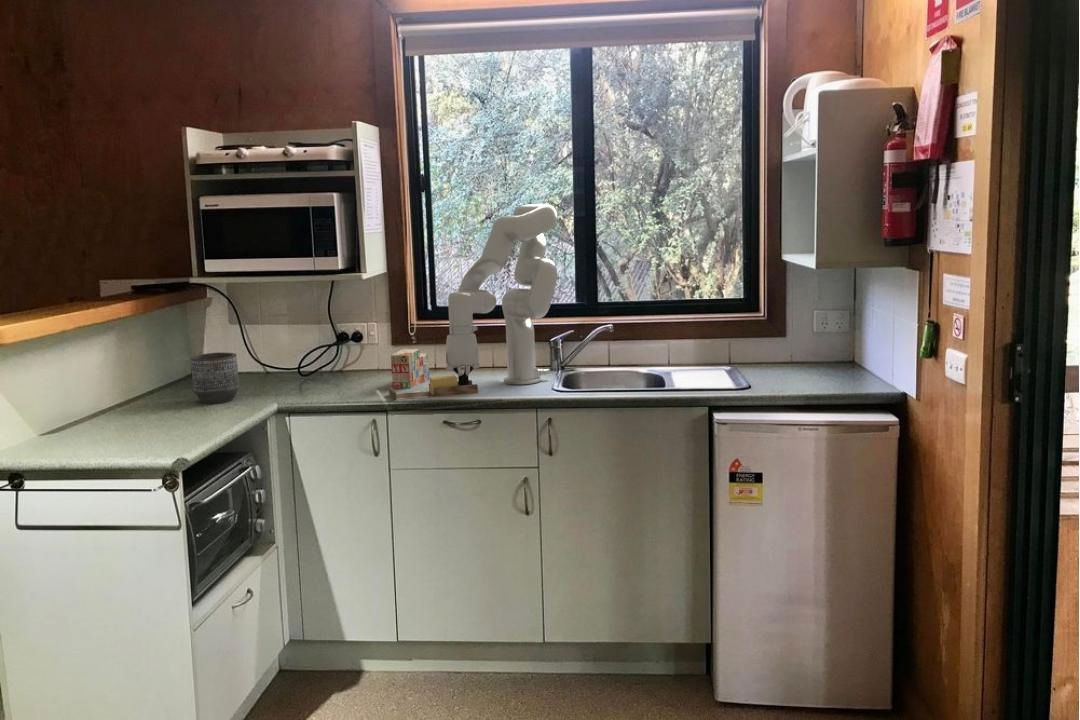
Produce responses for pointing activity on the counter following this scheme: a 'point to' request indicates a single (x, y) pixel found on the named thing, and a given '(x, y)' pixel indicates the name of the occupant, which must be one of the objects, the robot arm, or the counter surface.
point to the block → (442, 382)
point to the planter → (215, 377)
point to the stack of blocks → (409, 368)
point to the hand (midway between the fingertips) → (463, 387)
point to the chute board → (436, 392)
